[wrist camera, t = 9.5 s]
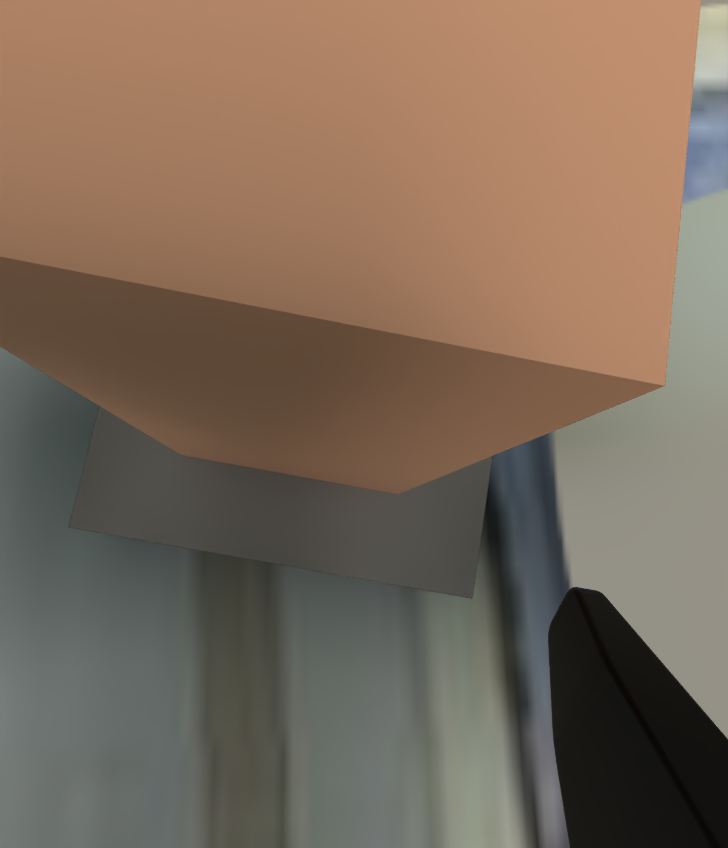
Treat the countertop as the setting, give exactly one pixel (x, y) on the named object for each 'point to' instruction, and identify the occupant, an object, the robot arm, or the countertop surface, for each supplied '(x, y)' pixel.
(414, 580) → the plinth
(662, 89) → the tall block
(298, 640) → the countertop surface
